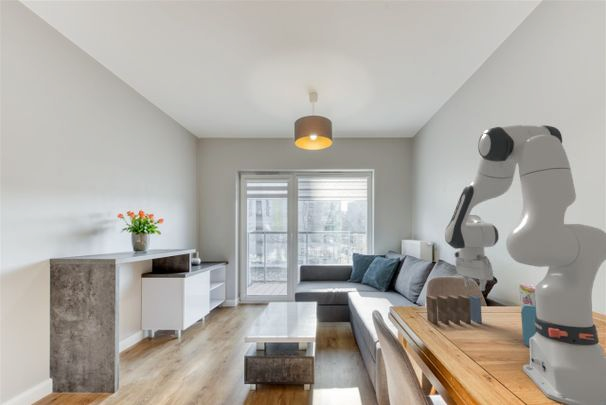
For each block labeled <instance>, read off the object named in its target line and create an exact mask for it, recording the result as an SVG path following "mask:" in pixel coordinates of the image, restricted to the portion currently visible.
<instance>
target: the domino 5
mask: <svg viewBox="0 0 606 405" xmlns="http://www.w3.org/2000/svg"><path fill="white" fill-rule="evenodd" d="M467 297H469V298H470V313H471V322H474V323H476V324H483V319H482V316H483V315H482V301H481V300H482V298H481V296H476V295H474V294H469V295H467Z"/></svg>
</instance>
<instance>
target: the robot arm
mask: <svg viewBox="0 0 606 405" xmlns="http://www.w3.org/2000/svg"><path fill="white" fill-rule="evenodd" d="M477 147H478V149H477V150H478V153H479V155H480V156H481V158H480V161H479V164H478V167H477V172H476V174H475V177H474V178H473V180H472V181H471V182H470V183H469V184H468V185H466V186H465V187H464V188H463V190H462V192H461V194H460V196H459V199H458V200H457V204H456V207H455V210H454V211H453V214H452V217H451V219H450V221H449V223H448V225H447V226H446V228H445V232H444V240H445V242H446V244H448V245H449V246H450V247H452V248H453V249H455V250H457V249H458V251H455V252H454V258H455V270H456V273H457V274H458V275H461V276H462V279H463V281H464V286H465V287H466V288H469V287H470V288H471V287H472V282H470V278H472V279H473V278H474V279H478V282H479V285H477V286H478V291H481V292H485V290H486V285H487V283H488V282H487V281H493V279H494V270H493V266H492V263H491V261H490V259H489V258H488V256H486V255H485V248H491V247H494V246H495V245H496V244H497V243H498V241H499V231H498V230H499V229H498V228H497V227H496V226H495V225H494V224H493V223H489V222H486V221H484V220H482V218H481V216H479V215H477V214H471V212H472V210H473V208H474V207H476V206H477V205H479V204H480V203H483V202H486V201H489V200H492V199H496V198H498V197H501V196H502V195H504V194H505V193H507V192H508V191H509V189H510V188H511V186H512V184H513V180H514V177H515V173H516V172H515V171H516V168H517V166H518V172H519V179H520V180H519V181H520V185H521V194H522V211H521V215H520V218H519V221H518V223H517V225H516V226H515V227H514V228H513V229H511V230H510V231H509V233H508V235H507V237H506V241H505V245H506V250H507V252H508V254H509V256H510V257H511V258H512V259H513V261H515V262H516V263H519V264H523V265H527V266H532V267H538V268H541V267H543V268H544V267H546V268H547V267H548V269H547V271H546V275H545V276H544V277H543V279H542V280H541V281H540V282H538V283H537V284H536V285H535V286H536V288H535V301H536V314H537V316H535V330H536V331H537V332H536V334H535V335H534V336H533V337H531V338H530V339H529V343H530V347H529V364H528V363H527V364H524V365H522V370H523V372H524V373H525V374H526V375H527V376H528V378H529V379H531V381H532V382H534V384H535V386H537V387H538V388H539V389H540V391H542V393H543V394H544V395H545V396H546V397H547V398H549V399H551V400H554V401H556V402H558V403H562V404H565V405H606V355H605V350H604V347H603V346H601V345H600V344H599V341H600V340H599V337H598V336H599V333H598V330H597V326H596V324H594V317H593V302H592V301H593V300H592V295H593V293H592V292H593V287H594V282H595V280H596V276H597V273H598V271H599V269H600V267H601V266H602V264H603V263H604V262H605V261H606V232H605V231H604V230H602V229H600V228H599V227H593V226H590V225H585V224H580V223H565V216H566V212H567V209H568V208H569V207H570V206H572V205H573V204H574V202H575V201H576V200H577V194H576V189H575V185H574V183H575V182H574V178H573V175H572V169H571V165H570V162H569V158H568V155H567V153H566V152H567V151H566V150H565V147H564V146H563V136H562V133H561V131H560V130H559V129H558V128H557V127H555V126H550V125H545V124H543V125H542V124H541V125H521V124H517V125H515V124H514V125H508V126H502V127H501V126H496V127H492V128H488V129H486V130H484V132H482V134H481V135H480V137H479V140H478V146H477ZM470 214H471V215H470Z"/></svg>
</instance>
